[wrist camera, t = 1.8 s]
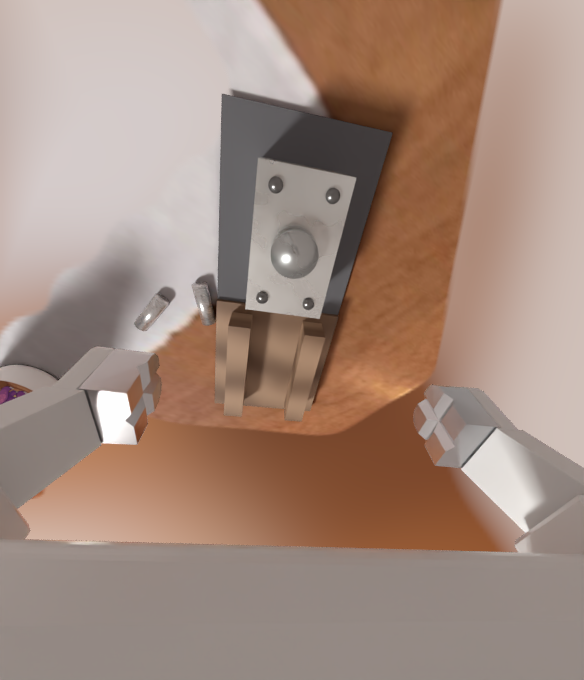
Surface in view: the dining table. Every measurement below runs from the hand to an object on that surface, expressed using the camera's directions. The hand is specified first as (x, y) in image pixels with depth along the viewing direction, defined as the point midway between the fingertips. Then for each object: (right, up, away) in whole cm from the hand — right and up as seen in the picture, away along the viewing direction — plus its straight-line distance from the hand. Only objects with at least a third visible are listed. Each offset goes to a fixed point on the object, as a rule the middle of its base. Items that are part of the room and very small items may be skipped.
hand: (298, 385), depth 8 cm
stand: (-3, -1, +23) cm, 23 cm away
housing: (0, +10, +15) cm, 18 cm away
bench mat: (0, +11, +15) cm, 19 cm away
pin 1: (-14, +4, +18) cm, 24 cm away
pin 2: (-9, +5, +19) cm, 21 cm away
